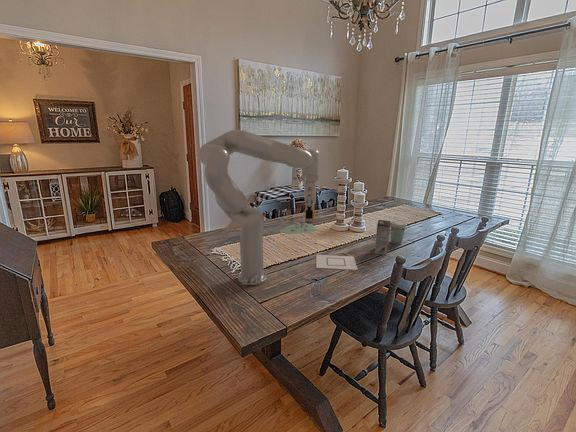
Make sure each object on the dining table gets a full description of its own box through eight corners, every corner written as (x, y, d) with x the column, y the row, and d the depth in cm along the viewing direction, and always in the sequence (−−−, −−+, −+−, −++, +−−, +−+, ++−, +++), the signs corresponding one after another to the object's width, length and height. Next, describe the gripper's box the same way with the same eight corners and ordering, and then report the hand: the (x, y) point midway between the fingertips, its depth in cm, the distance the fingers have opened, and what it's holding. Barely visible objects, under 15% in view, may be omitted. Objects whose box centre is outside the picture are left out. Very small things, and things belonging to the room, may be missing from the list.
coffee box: (376, 247, 168) (378, 219, 163) (388, 249, 166) (391, 220, 161) (374, 253, 160) (376, 224, 155) (386, 255, 157) (390, 225, 153)
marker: (313, 223, 140) (314, 198, 136) (304, 223, 140) (304, 198, 137) (313, 221, 144) (314, 196, 140) (304, 220, 144) (305, 196, 141)
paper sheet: (357, 270, 141) (357, 269, 140) (316, 268, 142) (316, 267, 142) (353, 257, 155) (353, 256, 155) (316, 255, 157) (316, 254, 157)
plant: (296, 238, 182) (296, 224, 180) (272, 230, 196) (272, 217, 194) (322, 229, 199) (322, 216, 197) (299, 222, 213) (299, 210, 211)
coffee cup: (390, 239, 181) (392, 219, 177) (405, 241, 176) (407, 222, 173) (386, 243, 174) (388, 223, 170) (402, 246, 169) (404, 226, 166)
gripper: (318, 181, 128) (317, 222, 133) (318, 175, 144) (317, 212, 149) (300, 180, 128) (300, 222, 133) (302, 174, 144) (302, 212, 149)
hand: (309, 216), depth 141 cm, fingers closed on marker, 4 cm apart
